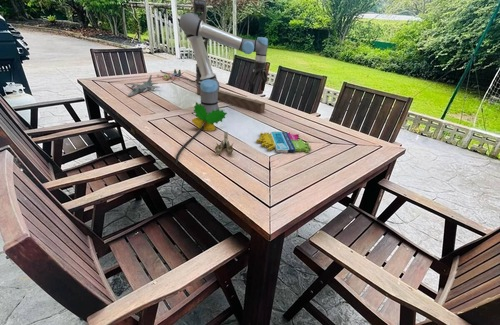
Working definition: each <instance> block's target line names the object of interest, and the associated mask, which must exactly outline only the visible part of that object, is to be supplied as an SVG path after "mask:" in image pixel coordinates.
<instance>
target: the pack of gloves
mask: <svg viewBox="0 0 500 325" xmlns="http://www.w3.org/2000/svg"><path fill="white" fill-rule="evenodd" d="M299 136H300V135H299V134H298V133H296V134H294V133H291V132H287V131H270V132H264V133H263V132H260V133H259V139H258V138H257V139H256V143H257V144H261V148H263V147H264V148H265V149H267V151H268V152H271V151H272V150H273V149H275V152H276V153H283V154H285V153H287V154H288V153H290V154H293V153H296V152H298V153H301V152H305V153H310V151H311V150H312V149H311V148H312V146H309V142H304V141H303V139H302V138H299Z"/></svg>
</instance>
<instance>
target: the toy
mask: <svg viewBox="0 0 500 325" xmlns="http://www.w3.org/2000/svg"><path fill="white" fill-rule="evenodd" d="M167 73H168V74H166V73H164V75H160V74H156V75H155V76H156V78H162V80H164V81H168V80H169V79H173V80H175V79H176V80H178V81H180V79H181V76H182V73H181V69H178V72H177V69H176V68H174V70H173V72H167ZM175 75H177V76H180V77H177V76H175Z"/></svg>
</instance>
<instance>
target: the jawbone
mask: <svg viewBox="0 0 500 325" xmlns="http://www.w3.org/2000/svg"><path fill="white" fill-rule="evenodd" d="M223 135H224V136H223V140H222V139H221V142H220V144H218V142H215V144H216V146H215V148H214V149H215V152H214V154H215V155H217V156H218V155H220V153H221V152H223V151H224V150H226V152H227V153H228V155H229V156H233V155H234V154H233V153H234V148H233V144H234V143H230V140H228V139H229V138H228V137H229V136H228V135H229V133H228V131H226V132H224V134H223Z"/></svg>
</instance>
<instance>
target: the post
mask: <svg viewBox="0 0 500 325" xmlns="http://www.w3.org/2000/svg"><path fill="white" fill-rule="evenodd" d="M196 94H197V95H198V96H199V95H200V96H201V88H200V85H196ZM218 101H219V102H222V103H224V104H225V103H226V104H229V105H232V106H235V107H239V108H242V109H245V110H249V111H251V112H255V113H257V114H263V113H265V110H266V102H264V101H260V100H257V99H253V98H250V97H245V96H242V95H240V94H239V95H238V94H236V93H231V92H228V91H224V90H220V89H219V90H218Z"/></svg>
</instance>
